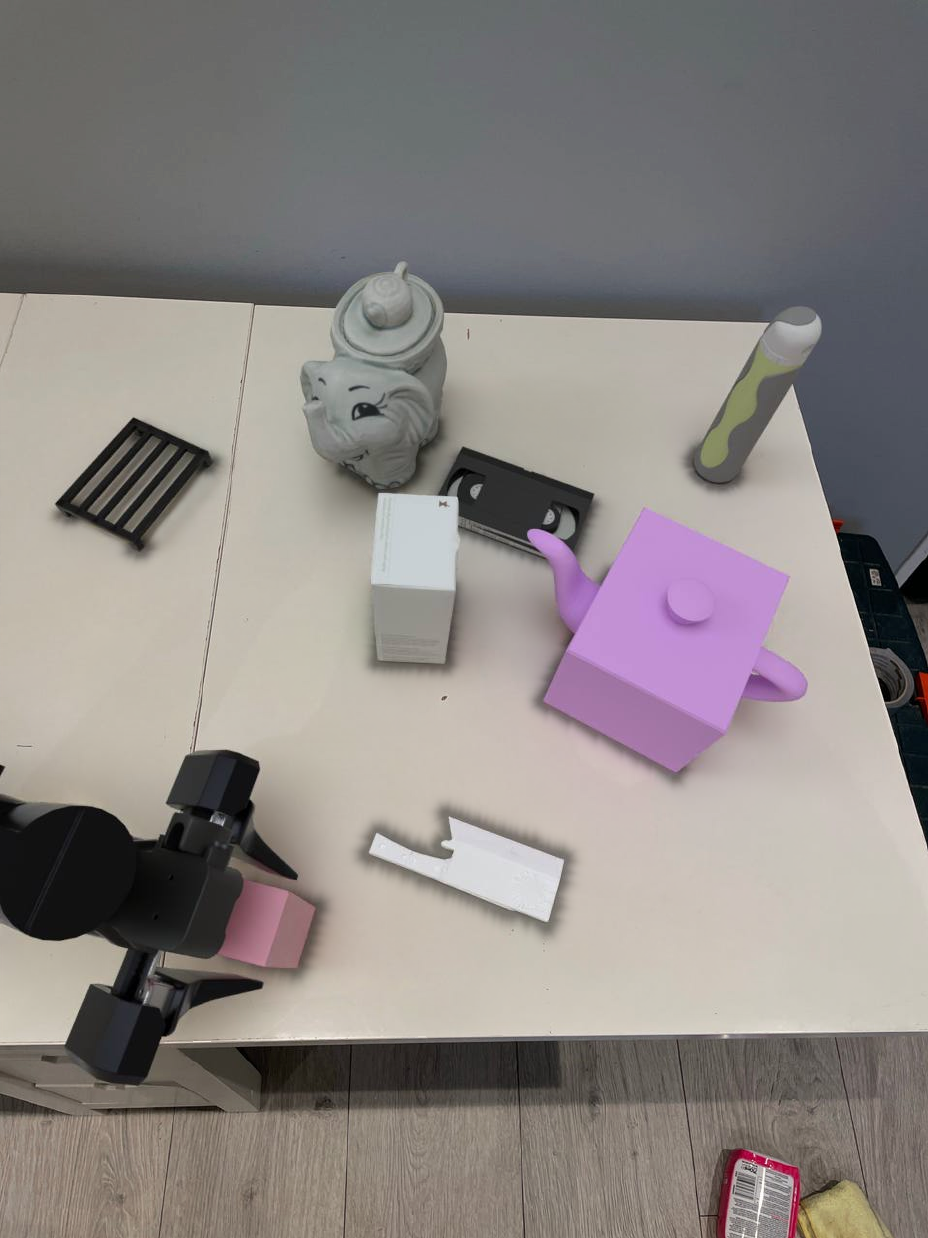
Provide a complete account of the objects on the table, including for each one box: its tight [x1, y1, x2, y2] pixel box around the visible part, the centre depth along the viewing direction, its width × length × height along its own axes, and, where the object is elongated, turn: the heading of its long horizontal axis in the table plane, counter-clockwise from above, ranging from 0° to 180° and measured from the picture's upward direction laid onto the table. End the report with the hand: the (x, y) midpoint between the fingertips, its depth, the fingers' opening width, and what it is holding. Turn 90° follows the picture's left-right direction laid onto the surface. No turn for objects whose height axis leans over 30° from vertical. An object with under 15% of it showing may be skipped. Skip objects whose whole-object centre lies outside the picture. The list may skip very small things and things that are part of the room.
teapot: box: [527, 506, 809, 774], centre depth 62 cm, size 15×25×14 cm, turn 61°
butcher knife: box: [368, 816, 565, 923], centre depth 59 cm, size 5×15×1 cm, turn 70°
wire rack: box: [54, 416, 213, 552], centre depth 72 cm, size 12×9×2 cm
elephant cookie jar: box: [299, 260, 448, 490], centre depth 68 cm, size 16×15×19 cm
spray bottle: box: [693, 305, 823, 484], centre depth 69 cm, size 5×5×20 cm
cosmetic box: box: [370, 492, 461, 665], centre depth 61 cm, size 8×7×16 cm
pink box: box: [216, 878, 317, 969], centre depth 51 cm, size 5×4×13 cm
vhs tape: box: [436, 445, 595, 560], centre depth 73 cm, size 14×8×2 cm, turn 68°
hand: (277, 929), depth 50 cm, fingers open, 7 cm apart
